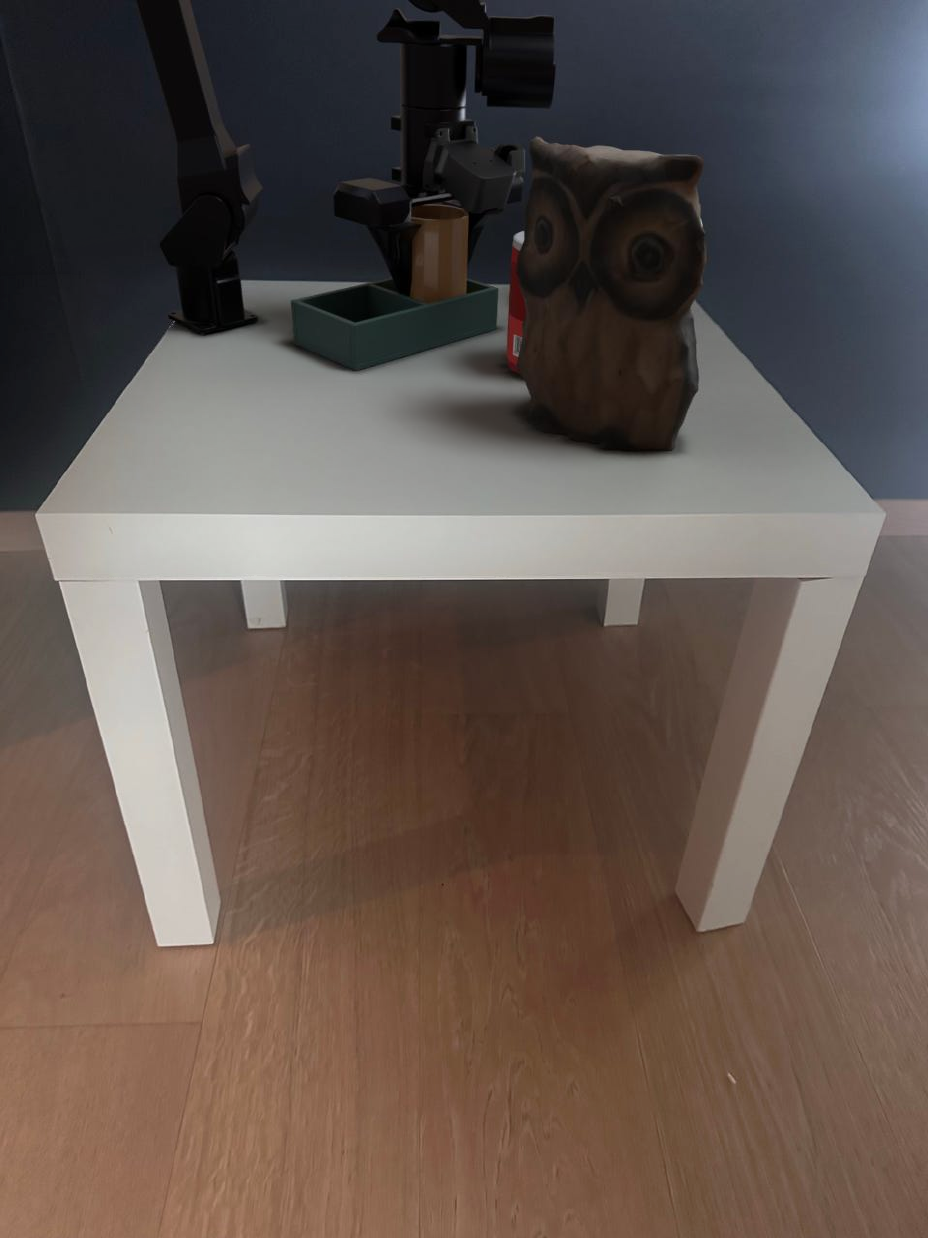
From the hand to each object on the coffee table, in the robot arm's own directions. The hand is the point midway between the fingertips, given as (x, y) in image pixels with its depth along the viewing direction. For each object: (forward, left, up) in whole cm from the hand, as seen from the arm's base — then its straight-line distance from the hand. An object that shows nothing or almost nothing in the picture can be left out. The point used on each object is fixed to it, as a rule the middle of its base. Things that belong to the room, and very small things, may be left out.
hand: (431, 288), depth 89 cm
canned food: (+15, +1, -4) cm, 16 cm away
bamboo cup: (0, 0, -2) cm, 2 cm away
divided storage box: (0, -4, -4) cm, 6 cm away
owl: (+26, -4, -4) cm, 27 cm away
